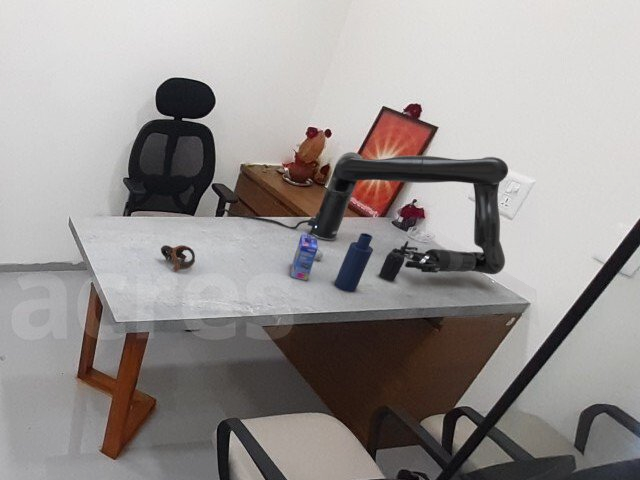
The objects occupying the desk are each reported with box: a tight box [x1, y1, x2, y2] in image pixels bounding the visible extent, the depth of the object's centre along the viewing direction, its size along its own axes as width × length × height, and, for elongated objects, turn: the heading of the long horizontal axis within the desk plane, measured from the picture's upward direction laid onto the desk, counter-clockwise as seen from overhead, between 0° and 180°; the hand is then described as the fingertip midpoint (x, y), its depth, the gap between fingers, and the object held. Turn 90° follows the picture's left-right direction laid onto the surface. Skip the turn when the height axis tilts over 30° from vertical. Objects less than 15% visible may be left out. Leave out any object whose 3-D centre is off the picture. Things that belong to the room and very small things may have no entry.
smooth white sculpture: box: [314, 248, 324, 261], centre depth 189 cm, size 4×8×5 cm
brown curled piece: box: [160, 244, 196, 272], centre depth 173 cm, size 12×10×8 cm
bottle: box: [334, 232, 374, 293], centre depth 168 cm, size 7×7×19 cm
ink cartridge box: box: [290, 231, 319, 281], centre depth 174 cm, size 10×6×14 cm, turn 161°
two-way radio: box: [378, 240, 410, 282], centre depth 176 cm, size 6×4×15 cm
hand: (399, 258), depth 176 cm, fingers open, 8 cm apart
